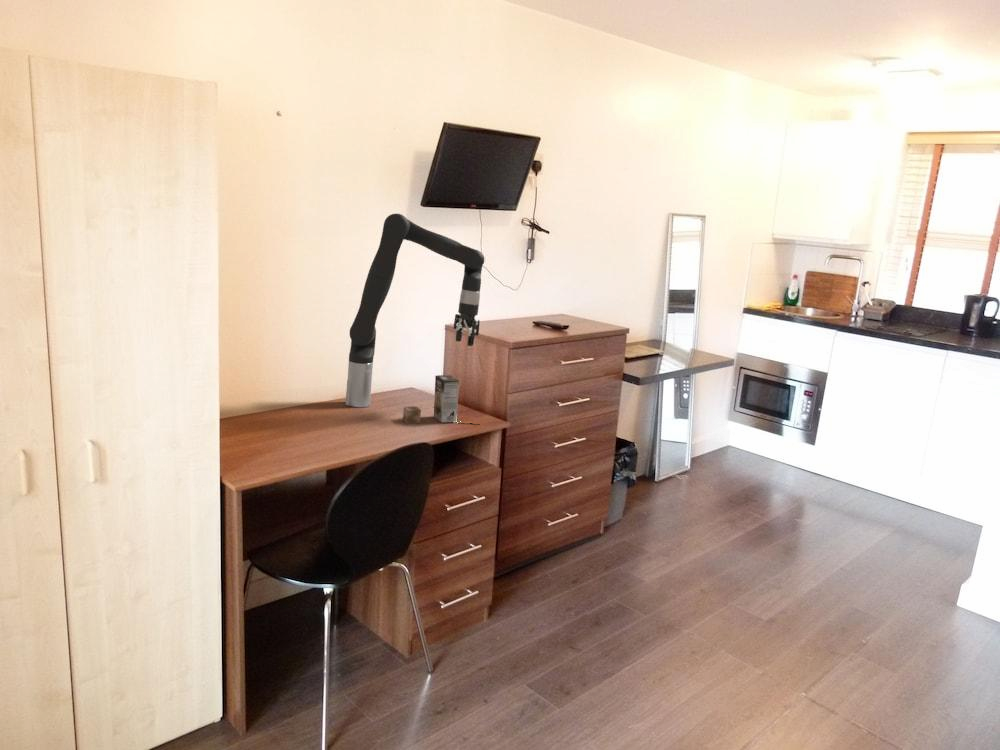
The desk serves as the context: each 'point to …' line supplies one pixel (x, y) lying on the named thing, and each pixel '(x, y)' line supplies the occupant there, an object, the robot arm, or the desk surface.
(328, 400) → the desk surface
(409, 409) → the walnut block
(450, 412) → the coffee box
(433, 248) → the robot arm
